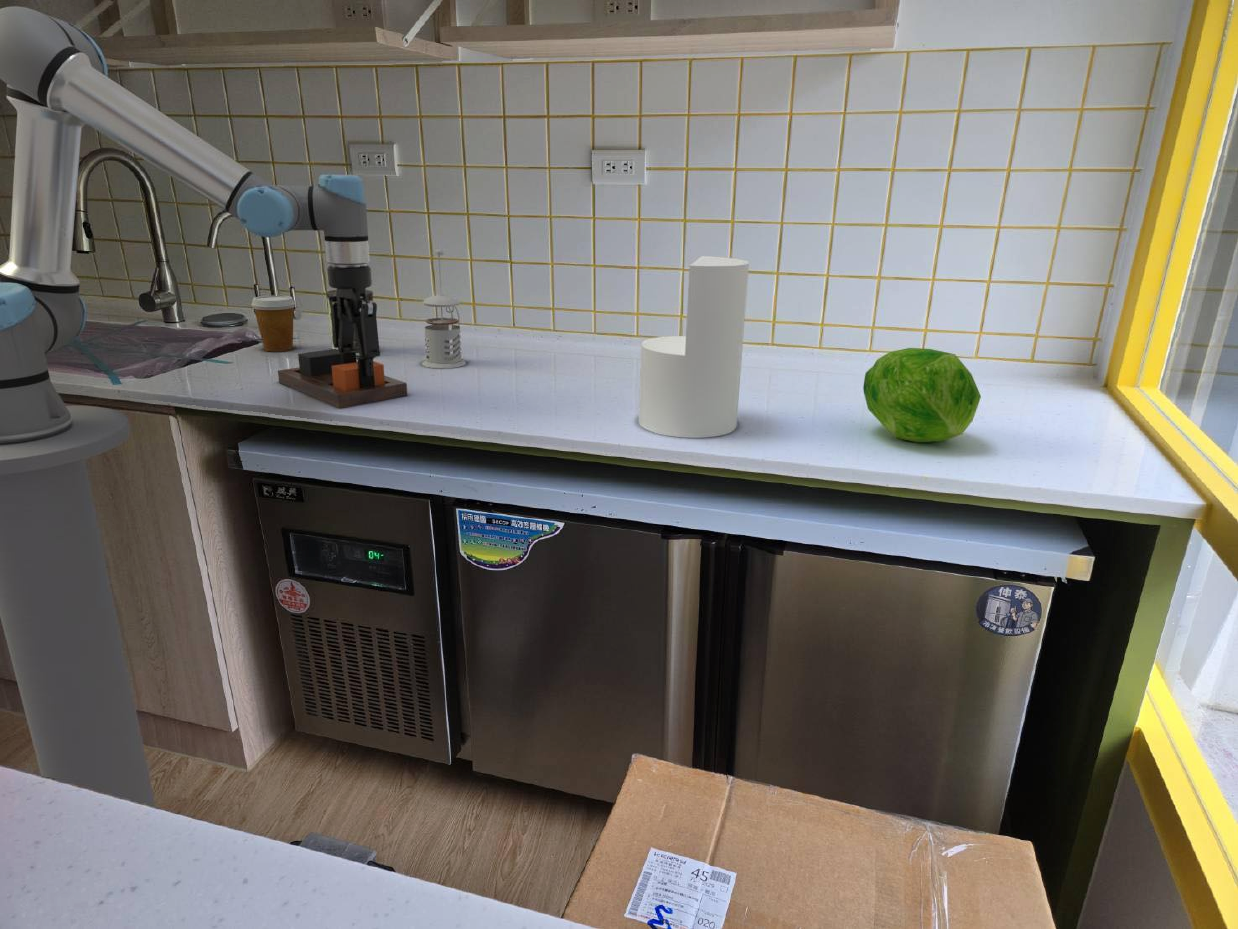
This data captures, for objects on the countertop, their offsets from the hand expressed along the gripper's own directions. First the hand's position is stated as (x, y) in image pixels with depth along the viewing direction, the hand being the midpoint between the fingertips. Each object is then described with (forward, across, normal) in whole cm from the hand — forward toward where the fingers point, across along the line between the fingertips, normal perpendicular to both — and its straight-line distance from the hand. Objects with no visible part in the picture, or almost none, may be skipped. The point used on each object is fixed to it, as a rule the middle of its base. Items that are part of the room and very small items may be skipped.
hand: (359, 389), depth 156 cm
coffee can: (+2, +37, -19) cm, 42 cm away
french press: (+2, +14, -29) cm, 32 cm away
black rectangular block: (0, +14, 0) cm, 14 cm away
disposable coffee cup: (+2, +51, -7) cm, 52 cm away
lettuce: (+2, -84, -57) cm, 101 cm away
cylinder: (+2, -53, -34) cm, 63 cm away
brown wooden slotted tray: (+1, +7, 0) cm, 7 cm away
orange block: (0, 0, 0) cm, 0 cm away
